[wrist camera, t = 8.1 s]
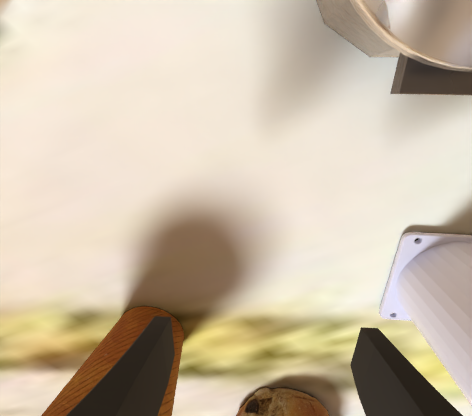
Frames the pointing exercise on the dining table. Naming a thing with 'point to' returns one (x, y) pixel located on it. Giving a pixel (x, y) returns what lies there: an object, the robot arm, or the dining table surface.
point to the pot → (393, 55)
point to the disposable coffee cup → (111, 353)
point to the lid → (423, 29)
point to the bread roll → (282, 404)
